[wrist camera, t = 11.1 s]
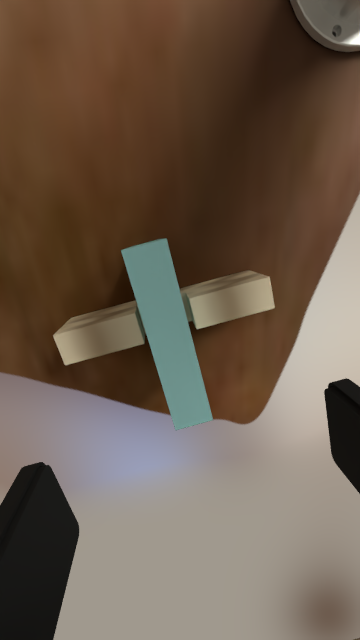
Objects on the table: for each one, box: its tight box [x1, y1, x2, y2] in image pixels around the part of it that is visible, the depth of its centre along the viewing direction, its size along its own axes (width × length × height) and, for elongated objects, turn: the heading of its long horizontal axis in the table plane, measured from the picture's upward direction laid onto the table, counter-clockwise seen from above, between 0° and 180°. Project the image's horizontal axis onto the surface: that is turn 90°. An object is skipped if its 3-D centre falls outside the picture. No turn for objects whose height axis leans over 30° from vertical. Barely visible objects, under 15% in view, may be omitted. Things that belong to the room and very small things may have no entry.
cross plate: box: [121, 238, 213, 430], centre depth 26 cm, size 14×3×12 cm, turn 14°
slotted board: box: [53, 270, 275, 365], centre depth 29 cm, size 20×3×6 cm, turn 104°
